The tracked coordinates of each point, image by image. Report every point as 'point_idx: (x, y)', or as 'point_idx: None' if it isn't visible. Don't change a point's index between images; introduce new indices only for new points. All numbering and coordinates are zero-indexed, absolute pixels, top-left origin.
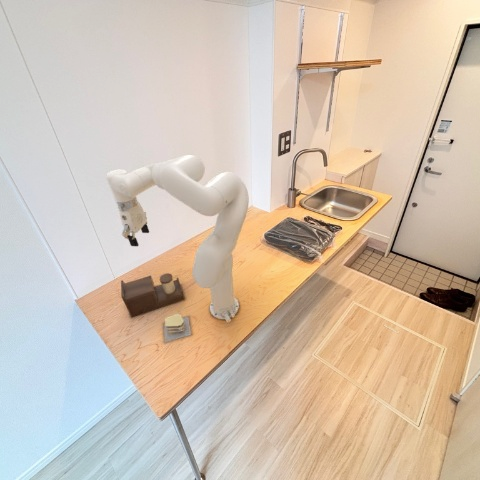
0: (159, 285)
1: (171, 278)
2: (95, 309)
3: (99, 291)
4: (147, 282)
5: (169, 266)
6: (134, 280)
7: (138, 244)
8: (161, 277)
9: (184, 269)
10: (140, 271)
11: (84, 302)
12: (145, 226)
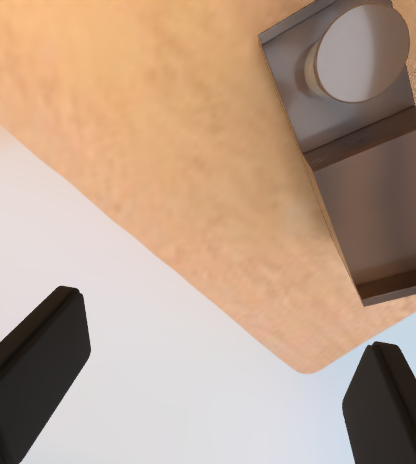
0: (297, 133)
1: (380, 3)
2: (352, 329)
3: (273, 342)
4: (374, 172)
5: (139, 141)
6: (341, 247)
7: (371, 349)
8: (353, 91)
9: (151, 55)
10: (178, 250)
11: (316, 364)
12: (2, 392)
